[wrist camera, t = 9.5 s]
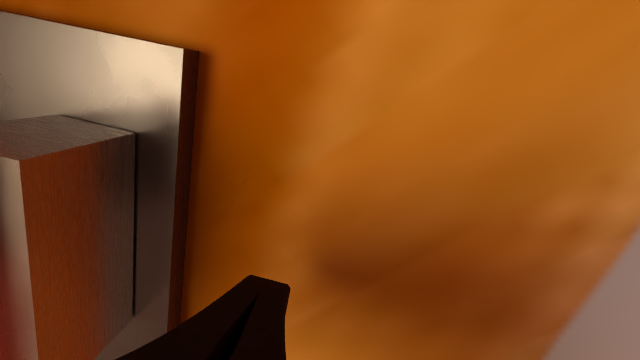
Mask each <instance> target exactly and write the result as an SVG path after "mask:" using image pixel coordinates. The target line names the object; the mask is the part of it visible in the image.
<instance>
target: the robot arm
mask: <svg viewBox="0 0 640 360" xmlns="http://www.w3.org/2000/svg"><path fill="white" fill-rule="evenodd" d="M289 294H290V287H289V285H288V284H284V283H280V282H277V281H273V280H269V279H265V278H261V277H258V276H254V275H249V276H247V277H246V278H244V279H243V280H242V281H241V282H239V283H238V284H237V285H236V286H234V287H233V288H232V289H231V290H229V291H228V292H227V293H225V294H224V295H223V296H221V297H220V298H219V299H217V300H216V301H214V302H213V303H212V304H210V305H209V306H207V307H206V308H205V309H203V310H202V311H200V312H199V313H197V314H196V315H194V316H193V317H191V318H189V319H188V320H186V321H185V322H183V323H182V324H180V325H178V326H177V327H175V328H174V329H172V330H170V331H169V332H167V333H165V334H164V335H162V336H160V337H158V338H156V339H155V340H153V341H151V342H149V343H147V344H145V345H143V346H142V347H140V348H138V349H136V350H134V351H132V352H130V353H127V354H125V355H123V356H121V357H119V358H117V359H114V360H286V352H285V314H286V309H287V304H288V299H289Z"/></svg>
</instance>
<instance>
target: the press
mask: <svg viewBox="0 0 640 360" xmlns="http://www.w3.org/2000/svg"><path fill="white" fill-rule="evenodd" d="M198 58H199V51H195V50H191V49H186V48H181V47H176V46H171V45H166V44H162V43H157V42H152V41H147V40H142V39H137V38H132V37H128V36H123V35H118V34H113V33H108V32H103V31H98V30H94V29H89V28H84V27H79V26H74V25H69V24H64V23H60V22H55V21H50V20H45V19H40V18H35V17H31V16H26V15H21V14H16V13H11V12H6V11H1V10H0V121H6V120H15V119H23V118H31V117H39V116H47V115H60V116H64V117H68V118H73V119H77V120H81V121H86V122H90V123H94V124H99V125H103V126H107V127H112V128H116V129H120V130H125V131H129V132H133V133H135V175H134V235H133V296H132V321H131V322H130V323H129V324H128V325H127V326H126V327H125V328H124V329H123V330H122V331H121V332H120V333H119V334H118V335H117V336H116V337H115V338H114V339H113V340H112V341H111V342H110V343H109V344H108V345H107V346H106V347H105V348H104V349H103V350H102V351H101V352H100V353H99V354H98V355H97V357H96V358H95V359H94V360H114V359H117V358H119V357H121V356H123V355H125V354H127V353H130V352H132V351H134V350H136V349H138V348H140V347H142V346H143V345H145V344H147V343H149V342H151V341H153V340H155V339H156V338H158V337H160V336H162V335H164V334H165V333H167V332H169V331H170V330H172V329H174V328H175V327H177V326H178V325H179V322H180V308H181V294H182V280H183V266H184V252H185V238H186V225H187V211H188V197H189V183H190V169H191V155H192V141H193V128H194V114H195V100H196V86H197V72H198Z"/></svg>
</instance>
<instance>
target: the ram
mask: <svg viewBox="0 0 640 360" xmlns="http://www.w3.org/2000/svg"><path fill="white" fill-rule="evenodd" d="M134 175H135V133H133V132H129V131H125V130H120V129H116V128H112V127H107V126H103V125H99V124H94V123H90V122H86V121H81V120H77V119H73V118H68V117H64V116H60V115H47V116H39V117H31V118H23V119H15V120H6V121H0V360H94V359H95V358H96V357H97V355H98V354H99V353H100V352H101V351H102V350H103V349H104V348H105V347H106V346H107V345H108V344H109V343H110V342H111V341H112V340H113V339H114V338H115V337H116V336H117V335H118V334H119V333H120V332H121V331H122V330H123V329H124V328H125V327H126V326H127V325H128V324H129V323H130V322H131V321H132V296H133V235H134Z"/></svg>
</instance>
